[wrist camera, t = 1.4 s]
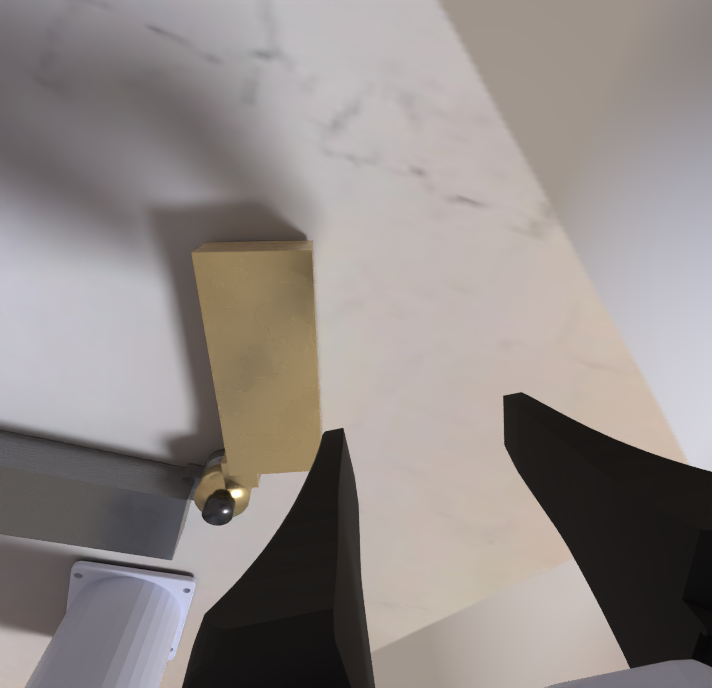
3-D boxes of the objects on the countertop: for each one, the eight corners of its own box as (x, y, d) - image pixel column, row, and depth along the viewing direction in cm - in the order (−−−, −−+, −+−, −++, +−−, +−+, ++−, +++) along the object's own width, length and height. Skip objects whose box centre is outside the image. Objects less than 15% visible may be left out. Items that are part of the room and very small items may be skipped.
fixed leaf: (233, 536, 27) (222, 587, 24) (-24, 491, 24) (-78, 544, 20) (260, 454, 24) (251, 499, 21) (-24, 392, 21) (-87, 434, 18)
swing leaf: (208, 491, 25) (197, 523, 23) (157, 243, 19) (136, 253, 16) (323, 484, 25) (324, 514, 23) (312, 240, 19) (312, 250, 17)
